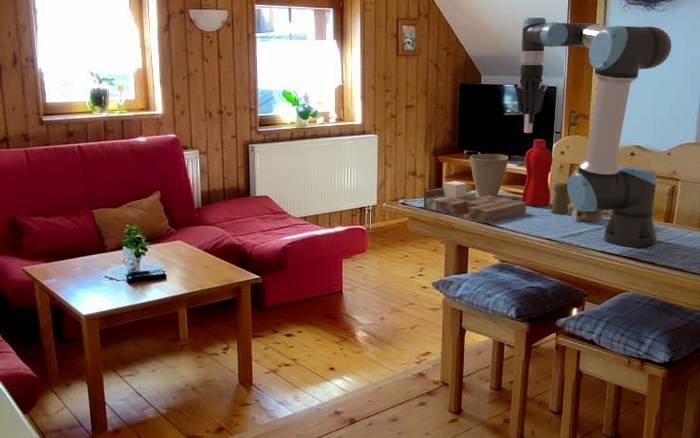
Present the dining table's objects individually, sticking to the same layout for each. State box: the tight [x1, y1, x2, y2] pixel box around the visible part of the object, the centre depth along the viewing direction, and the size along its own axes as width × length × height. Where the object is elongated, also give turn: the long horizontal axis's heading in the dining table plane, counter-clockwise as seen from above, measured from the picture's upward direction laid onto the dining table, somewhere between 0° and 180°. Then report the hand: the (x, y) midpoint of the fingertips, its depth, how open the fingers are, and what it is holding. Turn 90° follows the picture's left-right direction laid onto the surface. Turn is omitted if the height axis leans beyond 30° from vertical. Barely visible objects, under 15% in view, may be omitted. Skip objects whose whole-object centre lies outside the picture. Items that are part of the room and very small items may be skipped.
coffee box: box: [571, 204, 604, 223], centre depth 247 cm, size 9×6×16 cm
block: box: [443, 180, 468, 198], centre depth 268 cm, size 6×6×5 cm
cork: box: [550, 182, 569, 216], centre depth 258 cm, size 6×6×11 cm
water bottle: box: [521, 138, 554, 208], centre depth 270 cm, size 9×11×25 cm
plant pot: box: [469, 153, 509, 197], centre depth 286 cm, size 15×15×16 cm
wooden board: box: [423, 187, 527, 224], centre depth 262 cm, size 30×22×6 cm
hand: (527, 132), depth 251 cm, fingers closed
